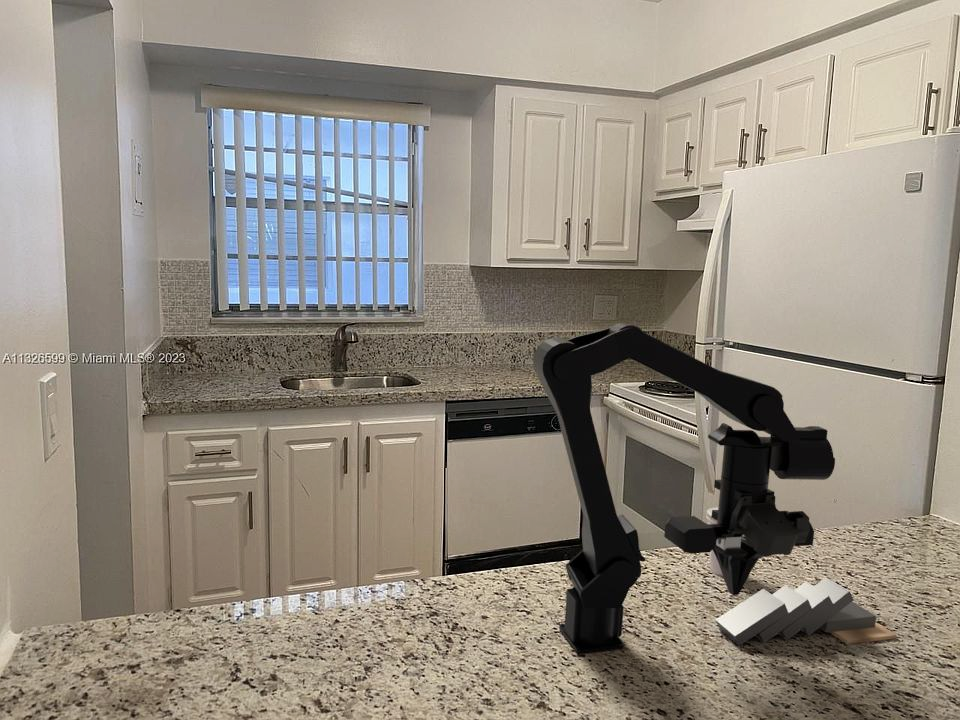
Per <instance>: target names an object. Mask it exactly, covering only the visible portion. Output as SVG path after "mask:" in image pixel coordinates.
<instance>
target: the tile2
mask: <svg viewBox="0 0 960 720" xmlns="http://www.w3.org/2000/svg"><path fill="white" fill-rule="evenodd" d="M794 590H795V589H793V588H791V587H790V586H788V585H786V584H785V585H783V586H782V587H780V588H779V589H778V590H776V591H775V592H774V593H771V594H772V595H773V596H775V597H776V598H778V599H779V600H780V601H782V602H783V603H785V605H786V608H787V610H788V614H787V615H785V616H784V617H782V618H781V619H779V620H778V621H776V622H775V623H773V624H772V625H770V626H769V627H767V628H765V629H764V630H762V631H761V632H759V633H758V634H756V635H755V636H754V637H756V638H757V639H758V640H760V641H761V642H762V643H764V644H765V643H767V642H768V641H770V640H771V639H772V638H774V637H775V636H776V635H779V634H778V633H779V632H781V631H782V630H783V629H785V628H786V627H787V626H789V625H790V624H792V623H793V622H794V621H796V620H797V619H799V618H800V617H801V616H803V615H804V614H805V613H807V612H808V611H810V610H811V609H812V607H811V605H810V603H809V601H808V599H807V598H805V597H804V596H802V595H800V594H799V593H797V592H796V591H794Z"/></svg>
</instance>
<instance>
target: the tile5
mask: <svg viewBox="0 0 960 720" xmlns="http://www.w3.org/2000/svg"><path fill="white" fill-rule="evenodd" d="M876 620H877V615H875V614H873V613H872V612H870V611H868V610H866V609H865V608H863V607H862V606H860V605H859V604H856V602H853V601H852V602H851V603H849V604H848V605H847V606H846V607H844V608H843V609H842V610H841V611H839V612H838V613H837V614H836V615H834V616H833V617H832V618H831V619H829V620H828V621H827V622H826V623H824V624H823V625H822V626H821V627H819V628H818V629H820V630H822V631H823V632H825V633H830V632H837V631H846V630H855V629H863V628H872V627H875V622H876V623H877V621H876Z"/></svg>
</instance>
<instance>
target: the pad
mask: <svg viewBox="0 0 960 720" xmlns="http://www.w3.org/2000/svg"><path fill="white" fill-rule="evenodd" d="M829 633H830V634H831V635H832V634H833V636H834V637H835V638H837V639H838V638H839V639H838V640H840V641H841V642H843V643H844V644H846V645H851V644H858V643H859V644H860V643H868V642H869V643H870V642H877V641H886V640H895V639H897V634H896V633H894V632H893V631H891V630H889V629H887V628H886V627H884V626H883V625H881V624H880V623H878V622H877V621H876V622H875V627H872V628H863V629H855V630H846V631H837V632H829Z"/></svg>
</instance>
